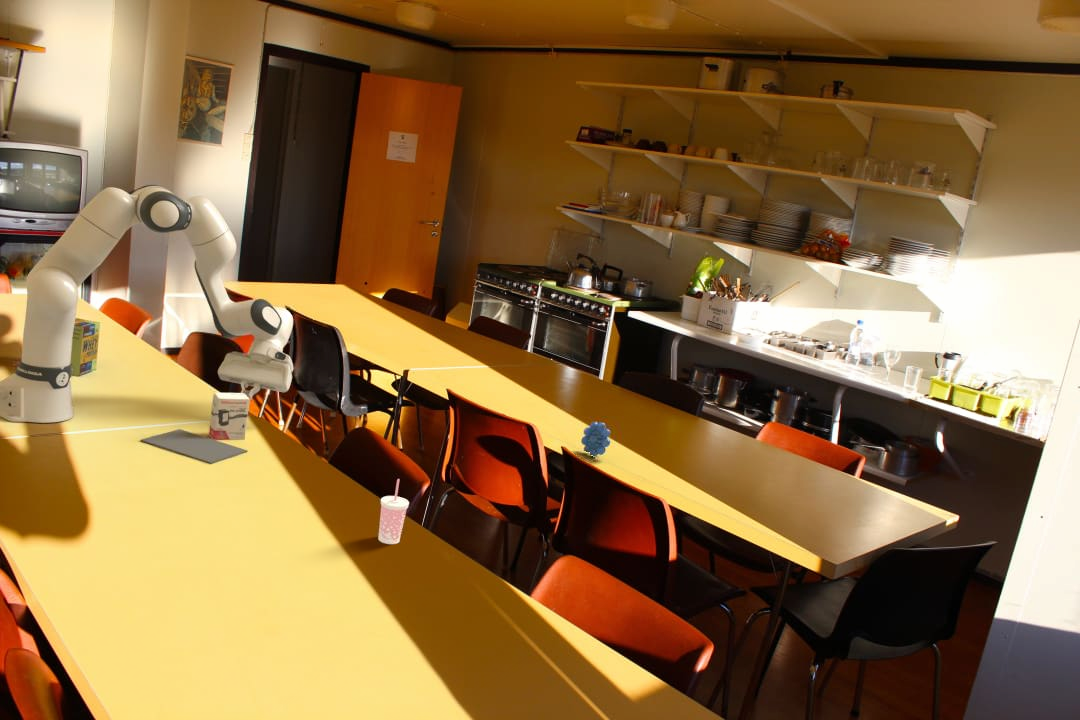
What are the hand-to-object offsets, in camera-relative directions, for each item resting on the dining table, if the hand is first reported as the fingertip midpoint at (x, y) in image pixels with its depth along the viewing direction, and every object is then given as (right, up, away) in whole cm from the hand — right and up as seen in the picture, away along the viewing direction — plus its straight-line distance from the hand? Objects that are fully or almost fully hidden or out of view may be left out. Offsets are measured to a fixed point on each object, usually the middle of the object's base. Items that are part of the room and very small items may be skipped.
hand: (245, 397), depth 249 cm
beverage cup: (+49, -29, -54) cm, 79 cm away
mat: (-7, -12, -20) cm, 24 cm away
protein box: (-65, +7, +26) cm, 70 cm away
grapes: (+100, -21, +37) cm, 108 cm away
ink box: (-2, -11, -8) cm, 14 cm away
